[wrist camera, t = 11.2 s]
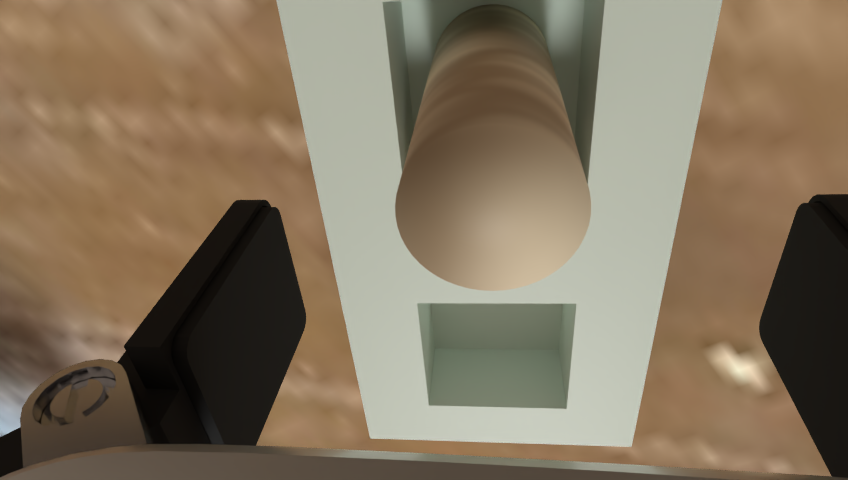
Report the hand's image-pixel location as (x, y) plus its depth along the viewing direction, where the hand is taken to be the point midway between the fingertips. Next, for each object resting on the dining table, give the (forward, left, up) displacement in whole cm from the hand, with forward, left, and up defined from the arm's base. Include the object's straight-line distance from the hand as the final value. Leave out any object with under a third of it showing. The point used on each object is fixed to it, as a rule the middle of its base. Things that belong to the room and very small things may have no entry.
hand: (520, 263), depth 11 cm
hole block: (+1, +5, -12) cm, 13 cm away
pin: (+1, 0, -11) cm, 11 cm away
